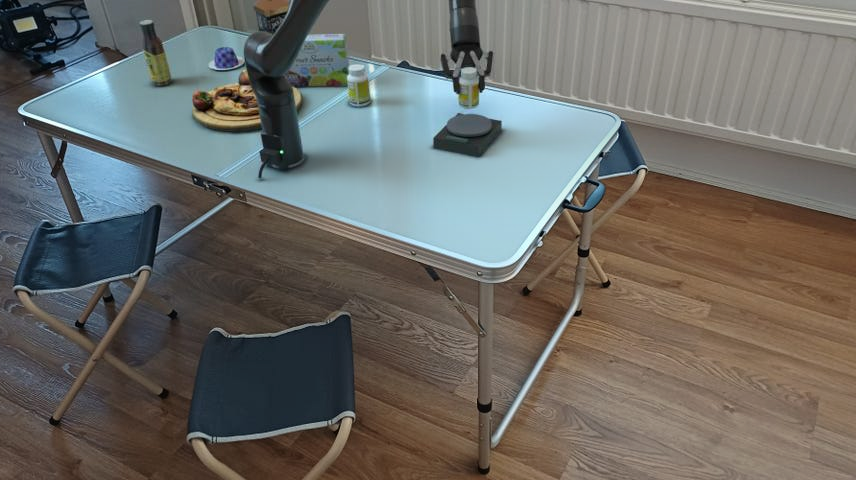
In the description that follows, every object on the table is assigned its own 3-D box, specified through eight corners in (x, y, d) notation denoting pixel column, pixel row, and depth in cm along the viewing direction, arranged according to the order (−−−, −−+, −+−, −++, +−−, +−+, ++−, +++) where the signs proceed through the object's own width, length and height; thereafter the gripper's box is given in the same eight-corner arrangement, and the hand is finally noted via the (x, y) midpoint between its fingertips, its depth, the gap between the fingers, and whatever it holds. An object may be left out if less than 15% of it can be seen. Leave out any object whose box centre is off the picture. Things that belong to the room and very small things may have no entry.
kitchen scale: (478, 157, 188) (478, 142, 185) (433, 147, 192) (432, 133, 190) (501, 130, 199) (501, 116, 196) (458, 122, 204) (458, 108, 201)
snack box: (281, 88, 226) (273, 40, 217) (284, 81, 231) (276, 34, 222) (349, 86, 226) (344, 38, 217) (351, 79, 230) (346, 32, 221)
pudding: (219, 75, 236) (216, 59, 233) (202, 65, 244) (198, 49, 241) (251, 64, 243) (248, 49, 239) (234, 55, 250) (231, 40, 247)
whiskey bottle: (276, 71, 237) (258, -31, 217) (261, 63, 243) (243, -37, 224) (303, 63, 242) (288, -38, 222) (288, 55, 248) (272, -44, 229)
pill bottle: (372, 98, 218) (368, 63, 211) (368, 107, 213) (365, 71, 207) (351, 98, 219) (348, 62, 212) (347, 107, 214) (343, 71, 207)
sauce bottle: (151, 81, 234) (133, 19, 222) (170, 77, 236) (154, 16, 224) (154, 88, 229) (136, 26, 217) (174, 84, 231) (157, 22, 219)
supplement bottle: (459, 110, 188) (459, 75, 182) (457, 101, 192) (456, 66, 187) (480, 108, 189) (480, 73, 183) (477, 99, 193) (477, 65, 187)
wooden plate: (181, 136, 203) (174, 108, 198) (206, 89, 228) (200, 63, 223) (296, 130, 203) (291, 103, 198) (307, 84, 228) (304, 58, 223)
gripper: (437, 24, 184) (442, 88, 182) (493, 21, 185) (499, 85, 183) (436, 37, 192) (441, 99, 190) (490, 34, 192) (495, 96, 190)
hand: (469, 92), depth 186 cm, fingers closed on supplement bottle, 5 cm apart
